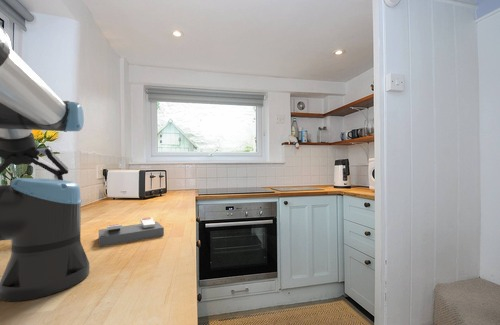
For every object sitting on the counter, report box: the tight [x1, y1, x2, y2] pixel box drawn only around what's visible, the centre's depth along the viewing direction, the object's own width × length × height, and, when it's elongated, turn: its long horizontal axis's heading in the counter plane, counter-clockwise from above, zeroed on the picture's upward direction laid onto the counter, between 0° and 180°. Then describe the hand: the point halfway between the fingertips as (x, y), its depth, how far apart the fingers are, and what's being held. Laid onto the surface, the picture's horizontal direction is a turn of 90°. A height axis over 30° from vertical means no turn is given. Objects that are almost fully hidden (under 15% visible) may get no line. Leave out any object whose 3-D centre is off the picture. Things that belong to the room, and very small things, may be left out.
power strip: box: [98, 221, 165, 248], centre depth 83 cm, size 11×20×4 cm, turn 125°
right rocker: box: [139, 216, 156, 228], centre depth 86 cm, size 7×4×1 cm, turn 35°
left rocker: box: [106, 223, 122, 230], centre depth 80 cm, size 7×4×1 cm, turn 35°
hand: (31, 195), depth 73 cm, fingers open, 13 cm apart
